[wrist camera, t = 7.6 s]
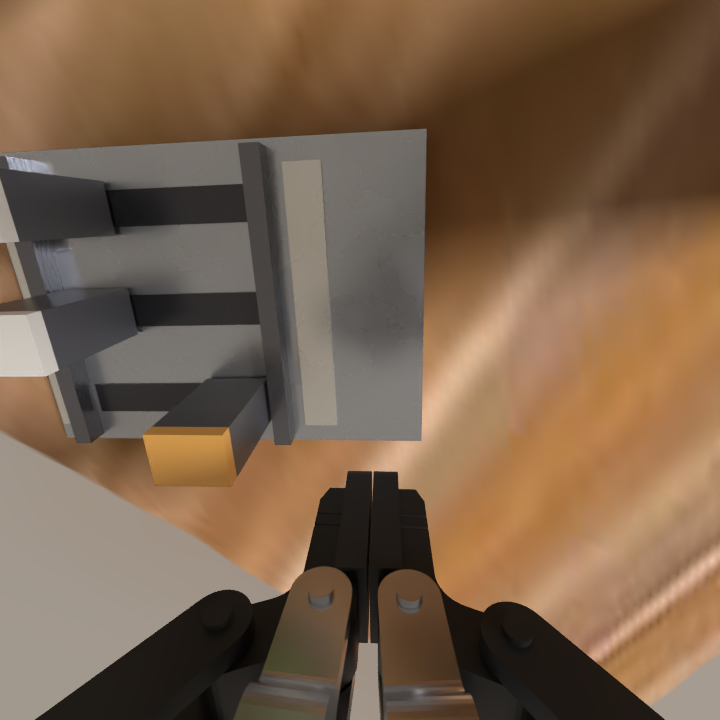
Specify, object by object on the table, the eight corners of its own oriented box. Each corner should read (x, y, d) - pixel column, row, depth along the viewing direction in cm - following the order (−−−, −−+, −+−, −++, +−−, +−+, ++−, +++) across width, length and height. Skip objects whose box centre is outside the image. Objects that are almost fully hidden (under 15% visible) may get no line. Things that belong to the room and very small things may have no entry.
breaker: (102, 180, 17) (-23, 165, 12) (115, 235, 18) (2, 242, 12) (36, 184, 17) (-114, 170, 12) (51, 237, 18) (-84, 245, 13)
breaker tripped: (267, 378, 19) (222, 435, 14) (271, 418, 20) (231, 487, 15) (207, 378, 20) (142, 434, 14) (214, 418, 20) (155, 485, 15)
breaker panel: (423, 136, 17) (428, 122, 14) (419, 426, 21) (422, 451, 19) (8, 158, 18) (-47, 150, 16) (87, 424, 23) (52, 447, 21)
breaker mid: (127, 287, 18) (25, 314, 13) (137, 334, 19) (45, 376, 14) (66, 289, 19) (-56, 316, 14) (79, 334, 19) (-33, 376, 14)
